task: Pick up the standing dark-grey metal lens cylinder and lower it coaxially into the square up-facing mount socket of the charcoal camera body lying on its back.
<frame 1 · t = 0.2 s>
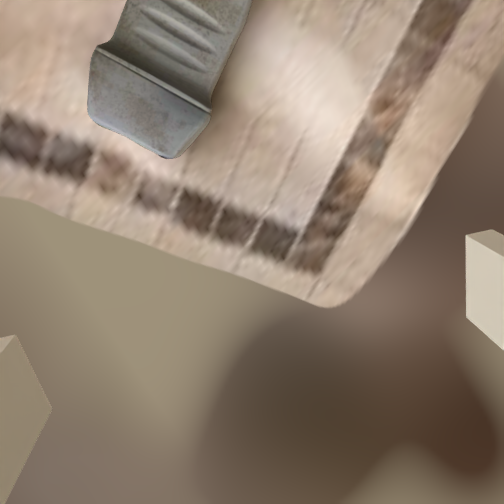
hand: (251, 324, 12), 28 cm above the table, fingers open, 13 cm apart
handheld device: (184, 25, 34), on the table
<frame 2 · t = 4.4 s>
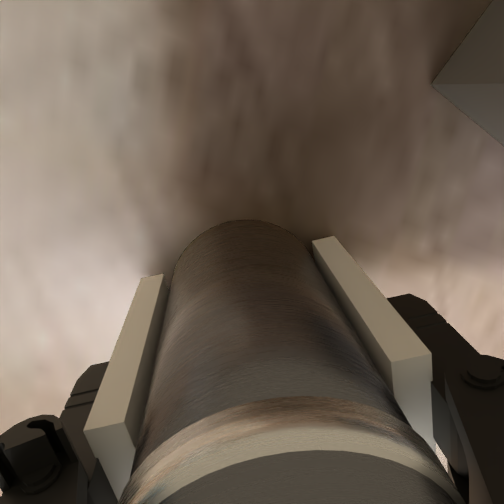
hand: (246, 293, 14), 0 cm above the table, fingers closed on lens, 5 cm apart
lens: (245, 289, 14), on the table, touching gripper
when the fingers open (8 cm above the table, at t = 8.4 s): lens drops 3 cm, resting on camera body.
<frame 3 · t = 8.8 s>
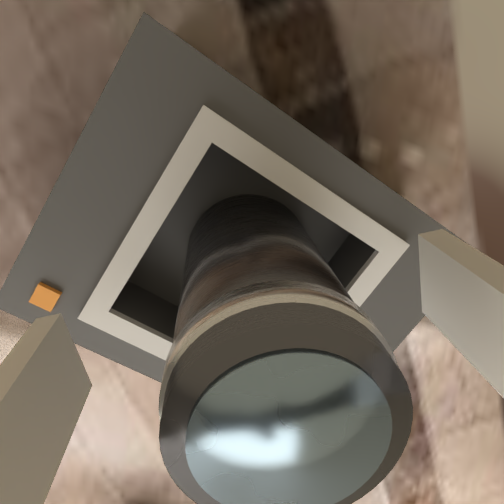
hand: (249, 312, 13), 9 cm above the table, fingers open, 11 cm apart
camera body: (234, 221, 22), on the table
lens: (247, 252, 17), point 5 cm above the table, touching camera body
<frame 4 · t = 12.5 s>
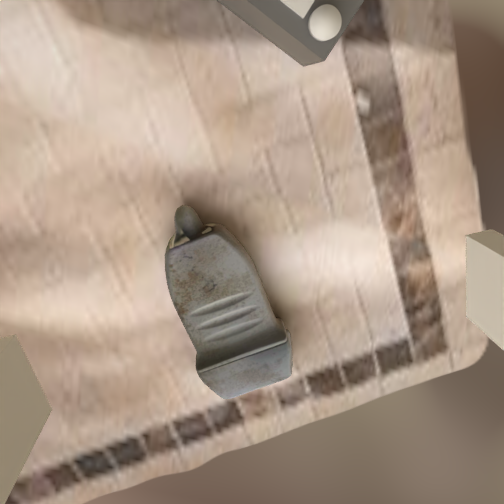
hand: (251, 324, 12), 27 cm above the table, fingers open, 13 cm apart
handheld device: (221, 292, 42), on the table
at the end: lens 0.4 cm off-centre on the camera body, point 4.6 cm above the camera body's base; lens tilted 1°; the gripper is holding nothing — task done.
